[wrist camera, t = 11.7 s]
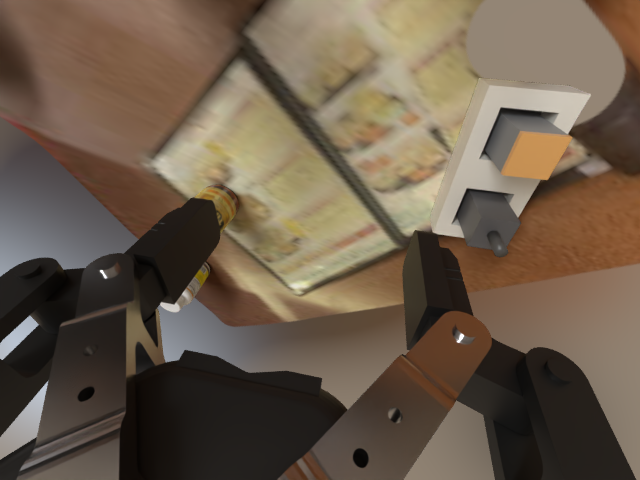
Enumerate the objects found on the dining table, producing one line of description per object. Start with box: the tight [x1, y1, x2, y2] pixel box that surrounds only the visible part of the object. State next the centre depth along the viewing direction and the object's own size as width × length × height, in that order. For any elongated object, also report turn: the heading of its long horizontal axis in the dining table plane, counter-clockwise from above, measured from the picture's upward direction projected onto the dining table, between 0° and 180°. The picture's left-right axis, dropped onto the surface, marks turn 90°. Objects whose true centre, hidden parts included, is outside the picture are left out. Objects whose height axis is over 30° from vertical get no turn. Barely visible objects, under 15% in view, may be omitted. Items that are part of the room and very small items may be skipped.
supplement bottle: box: [160, 262, 210, 312], centre depth 54 cm, size 6×6×10 cm
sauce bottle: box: [194, 185, 239, 233], centre depth 39 cm, size 6×6×20 cm
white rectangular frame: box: [430, 78, 591, 257], centre depth 31 cm, size 18×9×12 cm, turn 177°
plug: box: [484, 109, 572, 180], centre depth 29 cm, size 4×4×8 cm
